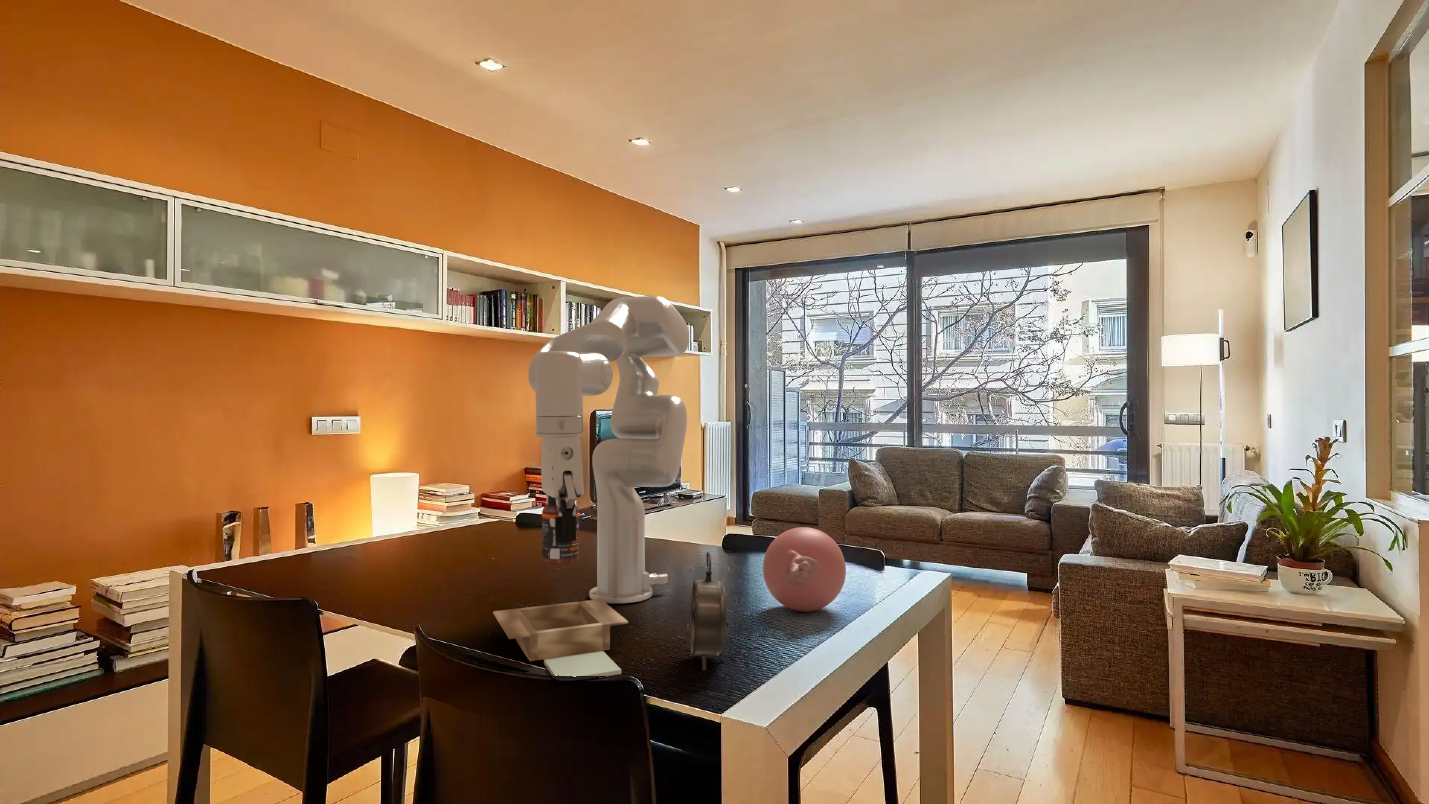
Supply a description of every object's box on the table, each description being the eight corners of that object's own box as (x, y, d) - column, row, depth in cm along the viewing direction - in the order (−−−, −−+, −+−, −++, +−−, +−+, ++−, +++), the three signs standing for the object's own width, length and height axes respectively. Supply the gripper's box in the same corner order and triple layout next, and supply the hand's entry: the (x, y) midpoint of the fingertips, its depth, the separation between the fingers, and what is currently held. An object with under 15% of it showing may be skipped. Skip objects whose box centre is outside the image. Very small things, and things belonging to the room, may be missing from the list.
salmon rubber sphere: (745, 624, 128) (745, 536, 128) (774, 596, 147) (774, 519, 147) (833, 633, 123) (832, 541, 123) (852, 603, 142) (851, 523, 142)
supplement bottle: (561, 568, 116) (560, 496, 115) (534, 563, 119) (533, 493, 119) (587, 560, 121) (586, 491, 120) (560, 556, 124) (559, 489, 124)
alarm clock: (689, 649, 115) (689, 545, 115) (723, 648, 115) (723, 545, 115) (693, 674, 104) (692, 559, 104) (731, 673, 104) (730, 559, 104)
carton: (600, 621, 130) (600, 599, 130) (628, 646, 116) (628, 621, 116) (493, 635, 122) (493, 611, 122) (509, 664, 108) (509, 637, 108)
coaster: (602, 654, 112) (602, 650, 112) (621, 673, 104) (621, 669, 104) (543, 663, 108) (543, 659, 108) (558, 684, 100) (558, 679, 100)
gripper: (596, 428, 113) (598, 545, 113) (569, 424, 129) (570, 527, 129) (548, 430, 110) (549, 550, 110) (525, 425, 126) (526, 530, 126)
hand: (560, 536), depth 120 cm, fingers closed on supplement bottle, 6 cm apart
